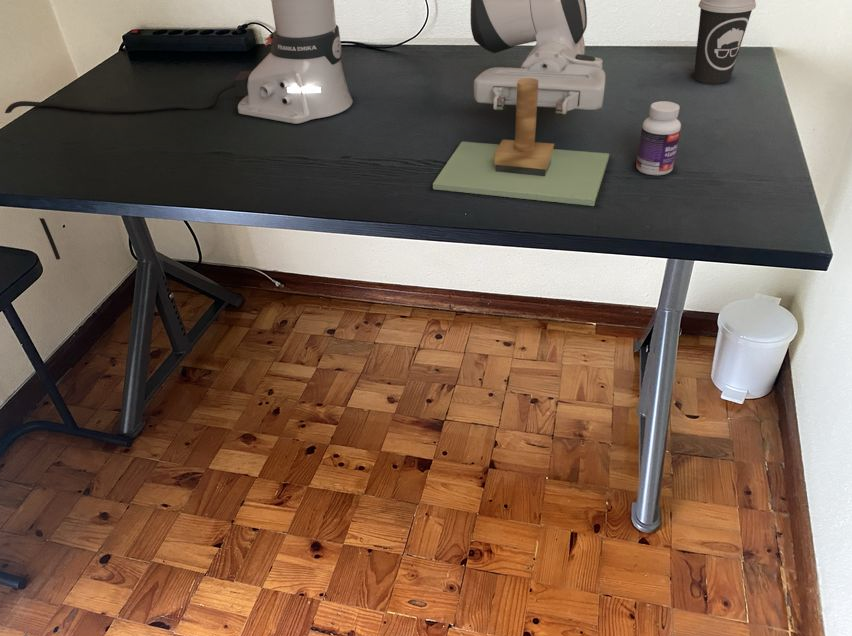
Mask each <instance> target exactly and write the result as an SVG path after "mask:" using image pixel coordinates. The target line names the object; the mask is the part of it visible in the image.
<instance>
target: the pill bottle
mask: <svg viewBox="0 0 852 636" xmlns="http://www.w3.org/2000/svg"><path fill="white" fill-rule="evenodd" d="M680 108H681V107H680V105H679V104H678V103H676V102H672V101H667V100H661V101H655V102H652V103H651V104H650V106H649V112H648V115H649V117H647V118H646V119H644V120H643V122H642V125H641V131H640V132H641V133H640V138H639V145H638V151H637V156H636V158H637V159H636V164H635V165H636V166H635V167H636V169H637V171H639V172H640V173H642V174H645V175H648V176H664V175H667V174H670V173H671V172H672V171H673V169H674V165H675V160H676V155H677V150H678V145H679V138H680V135H681V129H682V124H681V121H680V120H679V119H678V116H679V114H680Z"/></svg>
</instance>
